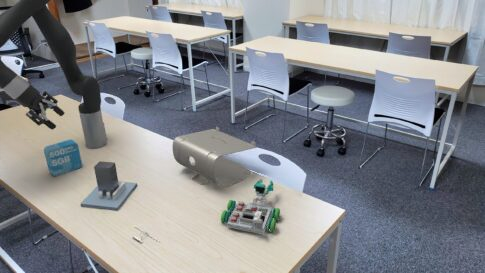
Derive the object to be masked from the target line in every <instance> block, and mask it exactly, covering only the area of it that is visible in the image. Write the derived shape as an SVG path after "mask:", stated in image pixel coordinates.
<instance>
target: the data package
mask: <svg viewBox="0 0 485 273" xmlns="http://www.w3.org/2000/svg"><path fill="white" fill-rule="evenodd" d="M43 154H44V157H45V160H46V161H45V162H46V164H47V170H48V171H49V172H50V174H51V175H52V176H53V177H58V176H61V175H63V174H66V173H70V172H72V171H75V170H78V169H81V167H82V166H83V162H82V157H81V153H80V148H79V144H78V143H77V142H76V141H75V140H74V139H66V140H63V141H60V142H57V143H53V144H49V145H47V146H45V147H44V148H43Z"/></svg>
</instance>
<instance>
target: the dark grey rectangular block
mask: <svg viewBox="0 0 485 273" xmlns="http://www.w3.org/2000/svg"><path fill="white" fill-rule="evenodd" d="M93 170H94V174H95V178H96V179H95V180H96V184H97V186H98V190H99V191H102V194H103V196H107V194H106V193H107V192H110V196H111V197H113V196H112V194H113V193H114V192H115V190H116V189H117V188H118V187H119V183H118V181H119V176H118V172H117V165H116V162H110V161H100V160H99V161H98V162H97V163H96V164H95V165H94V166H93Z"/></svg>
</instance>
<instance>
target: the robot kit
mask: <svg viewBox="0 0 485 273" xmlns="http://www.w3.org/2000/svg"><path fill="white" fill-rule="evenodd" d="M263 180H264V179H259V180H258V181H257V182H256V183H254V184H253V189H255V190H254V192H255V195H256V197H254V198H252V202H250V201H249V203H245V202H243V201H238V202H236V200H233V199H229V200H228V203H227V207H226V209H223V211H222V212H221V217H220V222H221V223H222V224H226V225H227V226H226V227H227V228H231V229H236V230H240V231H244V232H245V231H246V232H251V233H256V234H262V235H263V234H264V232H265V229H266V228H267V232H270V233H272V234H273V233H274V232H275V230H276V228H277V222H278V221H279V219H280V216H281V209H280V208H279V207H277V208H276V207H273V208H272V206H271V205H266V200H265V198H266V195H268V194H269V193H270V192H271V191H272V192H273V191H274V182H273V180H270V181H269V184H268V185H267V186H266V184H264V183H263ZM257 202H260V203H261V204H260V203H257ZM263 213H266V215H263ZM273 218H274V219H273ZM269 229H270V231H269Z"/></svg>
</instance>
